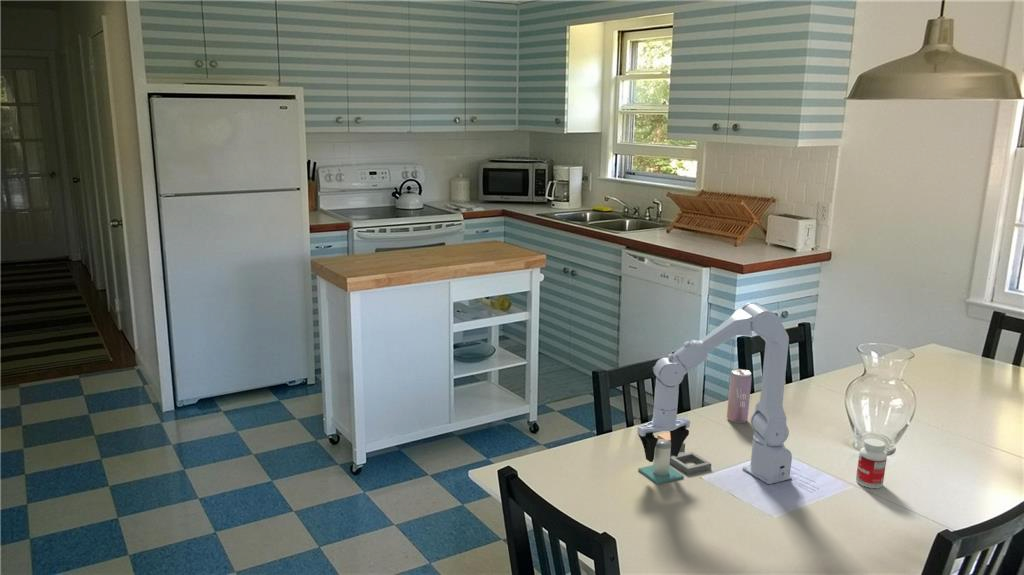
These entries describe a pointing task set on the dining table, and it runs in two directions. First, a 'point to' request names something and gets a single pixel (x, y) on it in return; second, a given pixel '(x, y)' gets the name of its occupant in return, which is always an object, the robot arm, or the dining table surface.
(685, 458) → the housing
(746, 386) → the beverage can
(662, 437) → the orange cube
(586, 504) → the dining table surface
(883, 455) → the pill bottle
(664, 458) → the cylinder
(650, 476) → the mat
